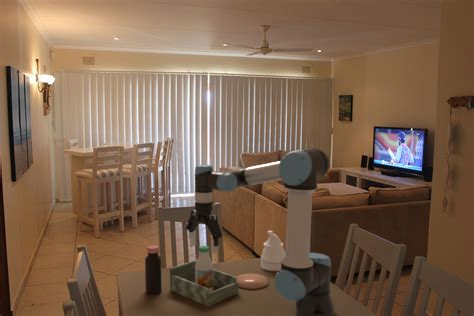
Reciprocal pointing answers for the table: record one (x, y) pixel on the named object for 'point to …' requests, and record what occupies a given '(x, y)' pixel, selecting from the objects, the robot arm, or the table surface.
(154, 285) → the vinegar
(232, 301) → the table surface
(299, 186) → the robot arm
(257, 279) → the pink round disc
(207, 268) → the milk bottle
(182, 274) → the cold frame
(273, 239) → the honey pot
